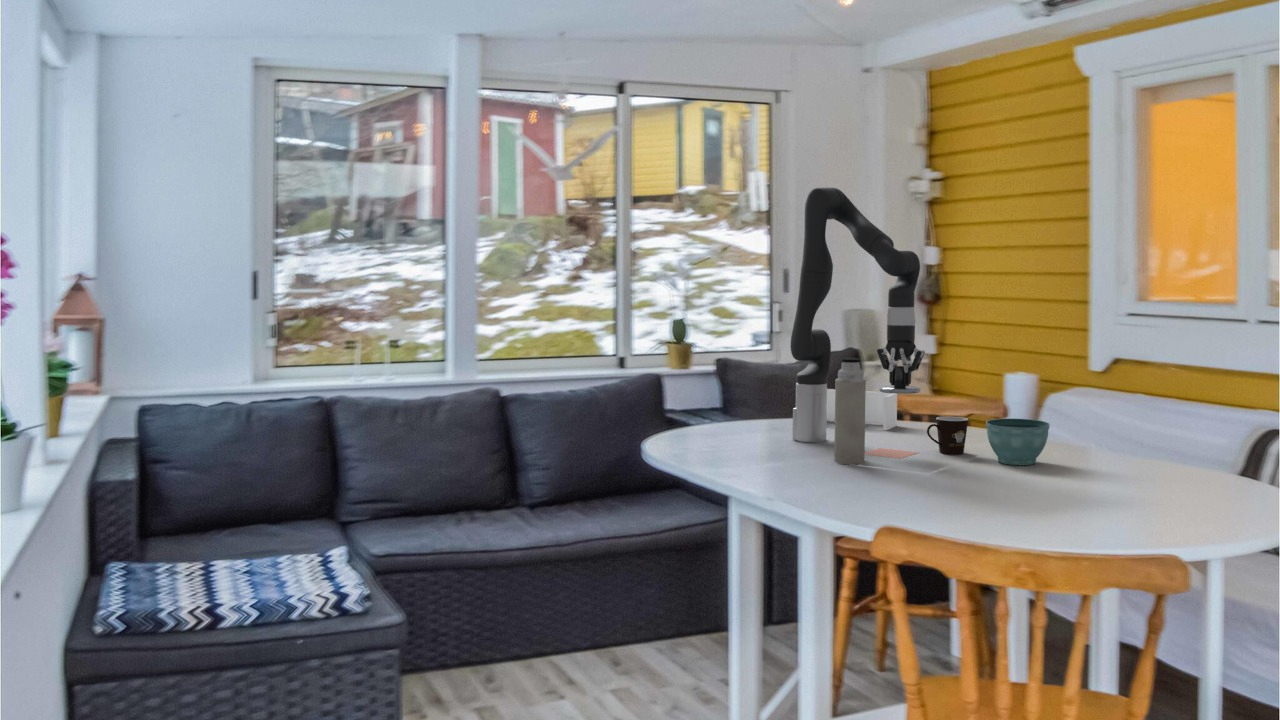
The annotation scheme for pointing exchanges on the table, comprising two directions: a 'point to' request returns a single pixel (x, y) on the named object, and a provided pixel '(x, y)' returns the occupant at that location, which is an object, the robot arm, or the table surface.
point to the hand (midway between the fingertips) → (900, 385)
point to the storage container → (871, 408)
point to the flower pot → (1017, 439)
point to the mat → (890, 453)
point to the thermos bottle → (850, 413)
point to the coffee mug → (950, 434)
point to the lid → (899, 384)
